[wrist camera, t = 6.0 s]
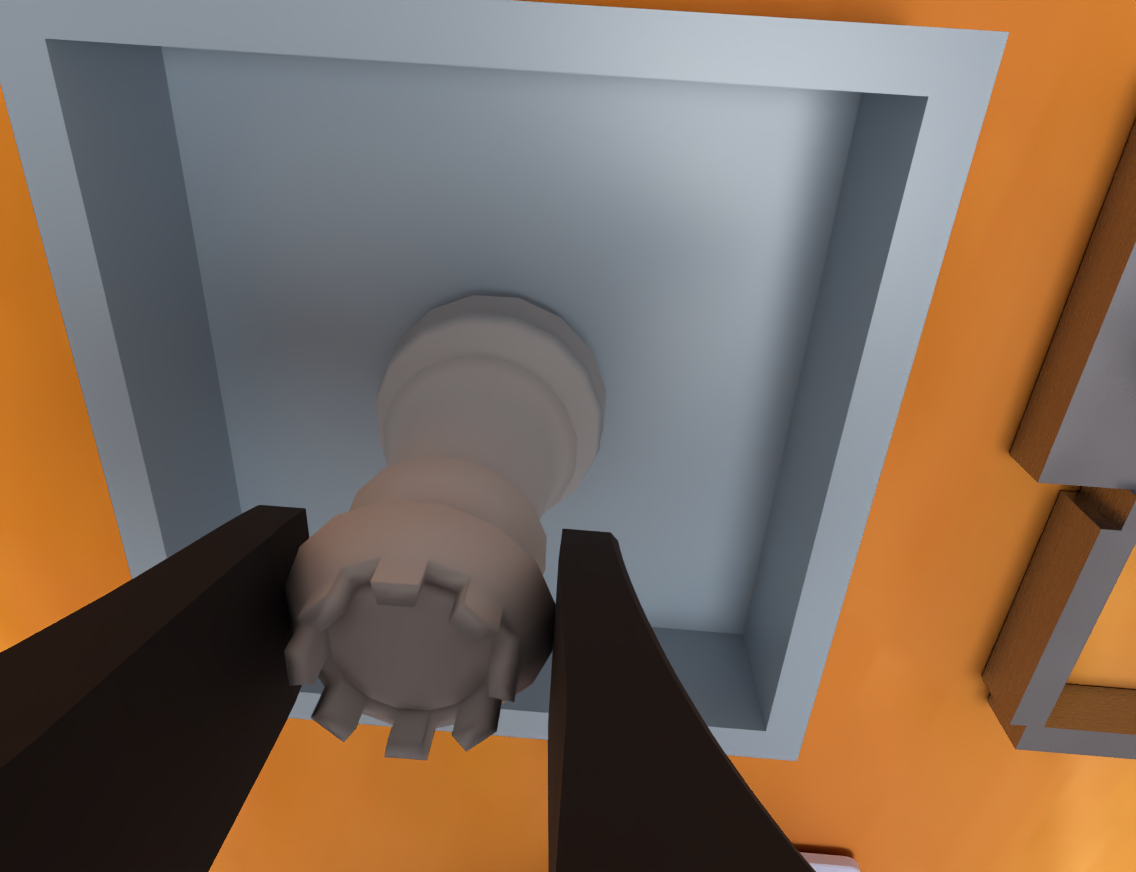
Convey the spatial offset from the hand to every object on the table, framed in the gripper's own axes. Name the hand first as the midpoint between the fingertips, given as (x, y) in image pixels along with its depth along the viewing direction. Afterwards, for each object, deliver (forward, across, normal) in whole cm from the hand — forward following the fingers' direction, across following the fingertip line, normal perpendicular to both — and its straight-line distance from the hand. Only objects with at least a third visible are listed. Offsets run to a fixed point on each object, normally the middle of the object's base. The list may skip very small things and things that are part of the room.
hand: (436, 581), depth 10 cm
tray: (+7, 0, 0) cm, 7 cm away
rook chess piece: (+6, 0, 0) cm, 6 cm away
